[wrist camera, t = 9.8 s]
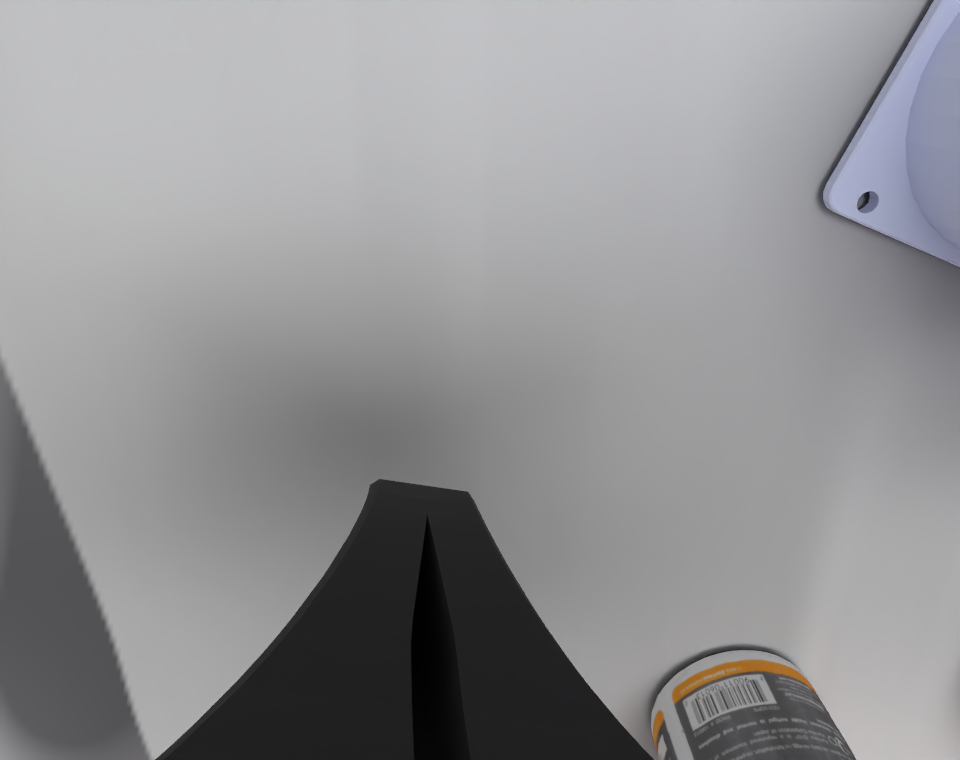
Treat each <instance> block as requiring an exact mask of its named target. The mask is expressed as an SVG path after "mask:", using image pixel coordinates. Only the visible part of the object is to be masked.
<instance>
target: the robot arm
mask: <svg viewBox="0 0 960 760" xmlns="http://www.w3.org/2000/svg"><path fill="white" fill-rule="evenodd" d="M868 191H869V194H870V199H869V202H868V203H867V204H866V206H865V207H864V208H861V209H859V210H858V209H857V202H858V199H859V197H860V196H861V195H862V194H863V193H866V192H868ZM823 201H824V203H825V205H826V207H827V208H828V209H830V210H831V211H833V212H835V213H837V214H839V215H842V216H844V217H846V218H848V219H851V220H853V221H855V222H858V223H860V224H862V225H864V226H867V227H869V228H871V229H874V230H876V231H878V232H880V233H883V234H885V235H887V236H890V237H892V238H894V239H896V240H899V241H901V242H903V243H906V244H908V245H910V246H912V247H915V248H917V249H919V250H922V251H924V252H926V253H928V254H931V255H933V256H935V257H938V258H940V259H942V260H944V261H947V262H949V263H951V264H953V265H956V266H958V267H960V0H934V1H933V3H932V4H931V6H930V8H929V10H928V11H927V13H926V15H925V16H924V18H923V20H922V21H921V23H920V25H919V27H918V28H917V30H916V32H915V33H914V35H913V37H912V39H911V40H910V42H909V44H908V45H907V47H906V49H905V51H904V52H903V54H902V56H901V57H900V59H899V61H898V62H897V64H896V66H895V68H894V69H893V71H892V73H891V74H890V76H889V78H888V80H887V81H886V83H885V85H884V86H883V88H882V90H881V91H880V93H879V95H878V97H877V98H876V100H875V102H874V103H873V105H872V107H871V109H870V110H869V112H868V114H867V115H866V117H865V119H864V121H863V122H862V124H861V126H860V127H859V129H858V131H857V132H856V134H855V136H854V138H853V139H852V141H851V143H850V144H849V146H848V148H847V150H846V151H845V153H844V155H843V156H842V158H841V160H840V161H839V163H838V165H837V167H836V168H835V170H834V172H833V173H832V175H831V177H830V179H829V180H828V182H827V184H826V186H825V189H824V191H823ZM155 760H654V759H653V758H652V757H651V756H650V755H649V754H648V753H647V752H646V751H645V750H644V749H643V748H642V747H641V746H640V745H639V744H638V742H637V741H636V740H635V739H634V738H633V737H632V736H631V735H630V734H629V732H628V731H627V730H626V729H625V728H624V727H623V726H622V725H621V724H620V722H619V721H618V720H617V719H616V718H615V717H614V715H613V714H612V713H611V712H610V711H609V709H608V708H607V707H606V706H605V705H604V703H603V702H602V701H601V700H600V699H599V697H598V696H597V695H596V694H595V693H594V691H593V690H592V689H591V688H590V687H589V685H588V684H587V683H586V682H585V680H584V679H583V678H582V676H581V675H580V674H579V672H578V671H577V670H576V668H575V667H574V666H573V664H572V663H571V662H570V660H569V659H568V658H567V656H566V655H565V653H564V652H563V651H562V649H561V648H560V646H559V645H558V643H557V642H556V641H555V639H554V638H553V636H552V635H551V633H550V632H549V631H548V629H547V628H546V626H545V625H544V623H543V622H542V620H541V619H540V617H539V615H538V614H537V612H536V611H535V609H534V608H533V606H532V605H531V603H530V601H529V600H528V598H527V596H526V595H525V593H524V592H523V590H522V588H521V587H520V585H519V583H518V582H517V580H516V578H515V577H514V575H513V574H512V572H511V570H510V568H509V567H508V565H507V563H506V561H505V560H504V558H503V556H502V554H501V552H500V551H499V549H498V547H497V545H496V543H495V541H494V540H493V538H492V536H491V534H490V532H489V530H488V528H487V526H486V524H485V522H484V520H483V518H482V516H481V514H480V512H479V510H478V508H477V506H476V504H475V502H474V500H473V499H472V497H471V496H470V494H469V493H468V492H465V491H458V490H451V489H444V488H437V487H430V486H423V485H416V484H410V483H403V482H396V481H389V480H382V479H379V480H378V481H376V482H374V483H373V484H371V485H370V488H369V493H368V496H367V499H366V502H365V504H364V507H363V509H362V511H361V514H360V516H359V518H358V520H357V522H356V523H355V525H354V527H353V529H352V531H351V533H350V535H349V536H348V538H347V540H346V541H345V543H344V544H343V546H342V548H341V549H340V551H339V552H338V554H337V556H336V557H335V559H334V560H333V562H332V564H331V565H330V567H329V568H328V570H327V571H326V573H325V574H324V576H323V577H322V579H321V580H320V581H319V583H318V584H317V585H316V587H315V588H314V589H313V591H312V592H311V593H310V595H309V596H308V597H307V599H306V600H305V601H304V603H303V604H302V605H301V607H300V608H299V609H298V611H297V612H296V613H295V615H294V616H293V618H292V619H291V620H290V621H289V623H288V624H287V625H286V626H285V627H284V629H283V630H282V631H281V632H280V633H279V635H278V636H277V637H276V638H275V640H274V641H273V642H272V643H271V644H270V645H269V646H268V648H267V649H266V650H265V651H264V652H263V653H262V654H261V656H260V657H259V658H258V659H257V660H256V661H255V662H254V663H253V664H252V666H251V667H250V668H249V669H248V670H247V671H246V672H245V673H244V674H243V675H242V676H241V678H240V679H239V680H238V681H237V682H236V683H235V684H234V685H233V686H232V687H231V688H230V689H229V690H228V691H227V692H226V693H225V694H224V695H223V696H222V697H221V698H220V699H219V700H218V701H217V702H216V703H215V704H214V705H213V706H212V707H211V708H210V709H209V710H208V711H207V712H206V713H205V714H204V715H203V716H202V717H201V718H200V719H199V720H198V721H197V722H196V723H195V724H194V725H193V726H192V727H191V728H190V729H189V730H187V731H186V732H185V733H184V734H183V735H182V736H181V737H180V738H179V739H178V740H177V741H176V742H175V743H174V744H172V745H171V746H170V747H169V748H168V749H167V750H166V751H165V752H164V753H162V754H161V755H160V756H159V757H158V758H157V759H155Z"/></svg>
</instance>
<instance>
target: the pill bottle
mask: <svg viewBox="0 0 960 760" xmlns="http://www.w3.org/2000/svg"><path fill="white" fill-rule="evenodd" d="M651 731H652V736H653V739H654V743H655V747H656V751H657V754H658V757H659V760H856V759H855V756H854V755H853V753H852V751H851V750H850V748H849V746H848V745H847V743H846V741H845V739H844V738H843V736H842V734H841V733H840V731H839V730H838V728H837V727H836V725H835V723H834V722H833V720H832V718H831V716H830V715H829V713H828V711H827V710H826V708H825V706H824V705H823V703H822V702H821V700H820V699H819V697H818V695H817V694H816V692H815V690H814V689H813V687H812V686H811V684H810V683H809V681H808V680H807V678H806V677H805V676H804V674H803V673H802V672H801V671H800V670H799V669H798V668H797V667H796V666H795V665H793V664H792V663H790V662H788V661H786V660H785V659H783V658H781V657H779V656H777V655H774V654H770V653H767V652H762V651H753V650H736V651H728V652H723V653H719V654H715V655H712V656H708V657H705V658H703V659H701V660H699V661H697V662H695V663H693V664H691V665H689V666H688V667H686V668H685V669H683V670H682V671H680V672H678V673H677V674H676V675H675V676H674V677H673V678H672V679H671V680H670V681H669V682H668V683H667V684H666V685H665V686H664V688H663V689H662V690H661V692H660V693H659V695H658V696H657V699H656V702H655V705H654V707H653V710H652V715H651Z"/></svg>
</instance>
